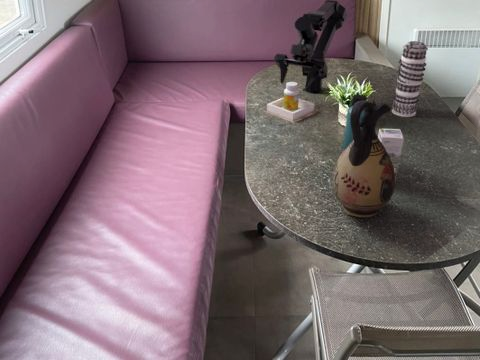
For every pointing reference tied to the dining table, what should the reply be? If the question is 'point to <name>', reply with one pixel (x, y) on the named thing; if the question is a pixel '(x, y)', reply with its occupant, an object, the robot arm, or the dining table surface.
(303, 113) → the dish
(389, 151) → the syrup box
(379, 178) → the ceramic jug
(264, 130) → the dining table surface
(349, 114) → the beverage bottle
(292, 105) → the supplement bottle
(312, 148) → the dining table surface
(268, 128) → the dining table surface
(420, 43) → the white banded cylinder
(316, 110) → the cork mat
